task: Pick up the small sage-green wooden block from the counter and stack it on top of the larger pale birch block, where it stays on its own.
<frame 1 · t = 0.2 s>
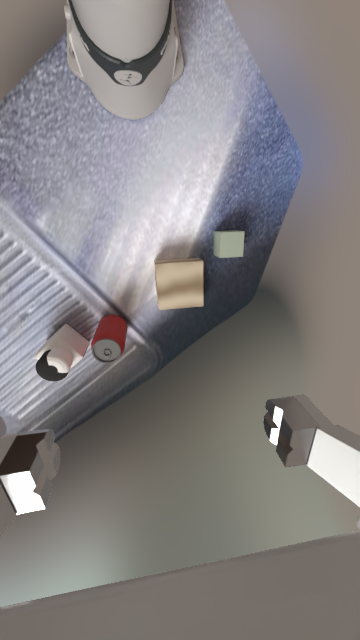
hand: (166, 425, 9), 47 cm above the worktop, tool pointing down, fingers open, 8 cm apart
beer can: (113, 325, 58), on the worktop
medicine bottle: (68, 341, 58), on the worktop
sage block: (224, 242, 54), on the worktop
birch block: (177, 280, 56), on the worktop
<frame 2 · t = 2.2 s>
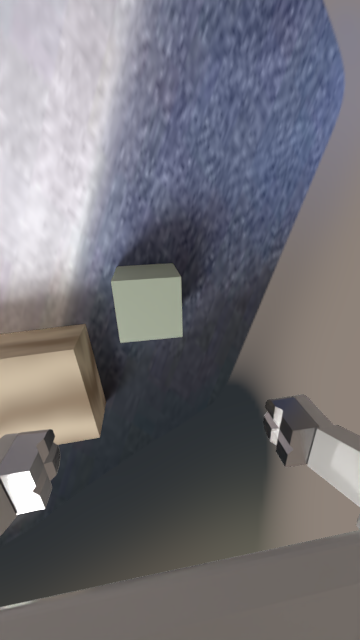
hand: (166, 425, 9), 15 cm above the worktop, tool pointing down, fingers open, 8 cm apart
sage block: (147, 290, 23), on the worktop
birch block: (47, 371, 25), on the worktop
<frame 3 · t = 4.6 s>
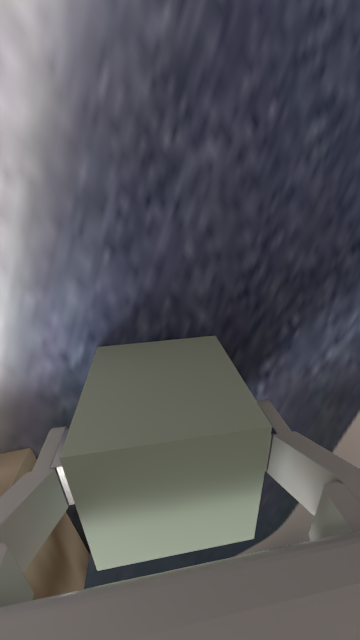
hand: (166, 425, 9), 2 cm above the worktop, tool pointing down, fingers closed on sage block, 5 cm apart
sage block: (161, 388, 11), on the worktop, touching gripper
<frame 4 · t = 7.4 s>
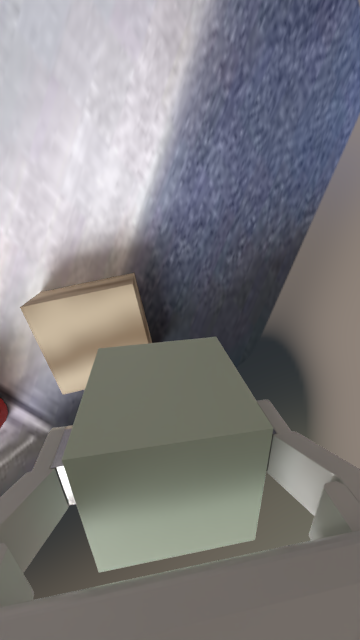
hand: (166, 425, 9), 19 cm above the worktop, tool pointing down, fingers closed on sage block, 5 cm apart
sage block: (162, 389, 11), point 17 cm above the worktop, touching gripper
birch block: (102, 322, 28), on the worktop
when the fingers open (8 cm above the worktop, at t = 10.3 s): sage block drops 1 cm, resting on birch block.
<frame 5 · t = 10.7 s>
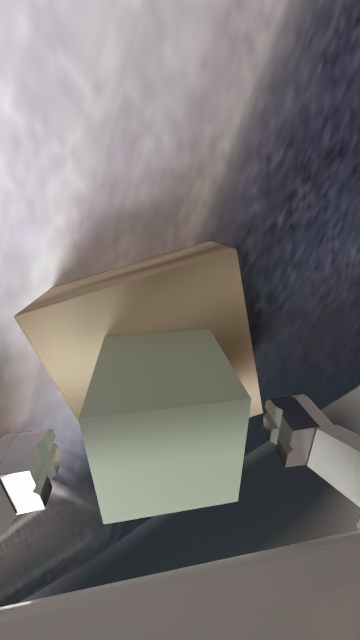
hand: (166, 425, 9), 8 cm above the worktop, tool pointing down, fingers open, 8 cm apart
sage block: (160, 375, 12), point 5 cm above the worktop, touching birch block
birch block: (155, 331, 17), on the worktop, touching sage block
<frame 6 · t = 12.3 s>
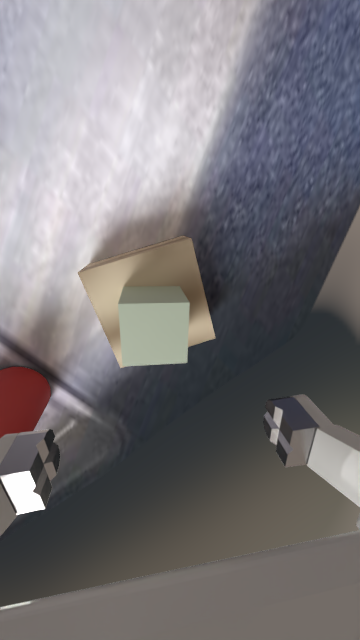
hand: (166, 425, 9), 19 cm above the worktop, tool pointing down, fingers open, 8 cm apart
beer can: (23, 386, 29), on the worktop
sage block: (152, 312, 22), point 5 cm above the worktop
birch block: (151, 293, 27), on the worktop
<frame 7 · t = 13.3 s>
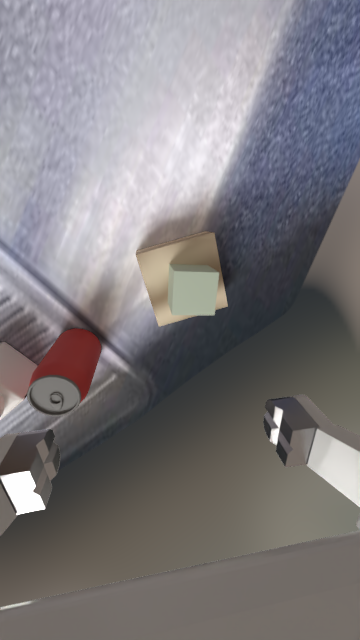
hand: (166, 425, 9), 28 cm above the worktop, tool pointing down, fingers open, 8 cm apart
beer can: (80, 345, 38), on the worktop
medicine bottle: (10, 368, 37), on the worktop
sage block: (187, 283, 31), point 5 cm above the worktop, touching birch block
birch block: (179, 274, 36), on the worktop, touching sage block
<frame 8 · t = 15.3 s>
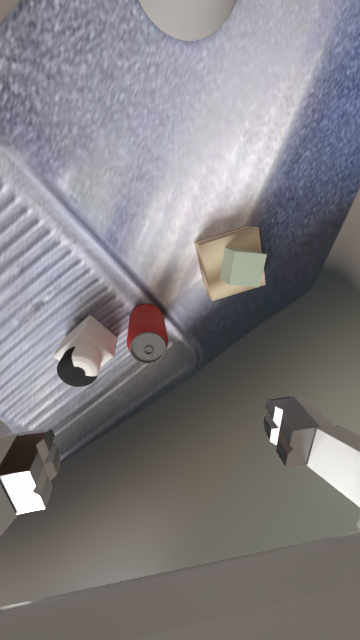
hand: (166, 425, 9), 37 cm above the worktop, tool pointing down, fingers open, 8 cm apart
beer can: (146, 318, 47), on the worktop
medicine bottle: (92, 336, 47), on the worktop
sage block: (235, 264, 41), point 5 cm above the worktop, touching birch block
birch block: (225, 260, 45), on the worktop, touching sage block
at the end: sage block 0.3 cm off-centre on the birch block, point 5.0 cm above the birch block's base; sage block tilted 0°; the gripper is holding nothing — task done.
